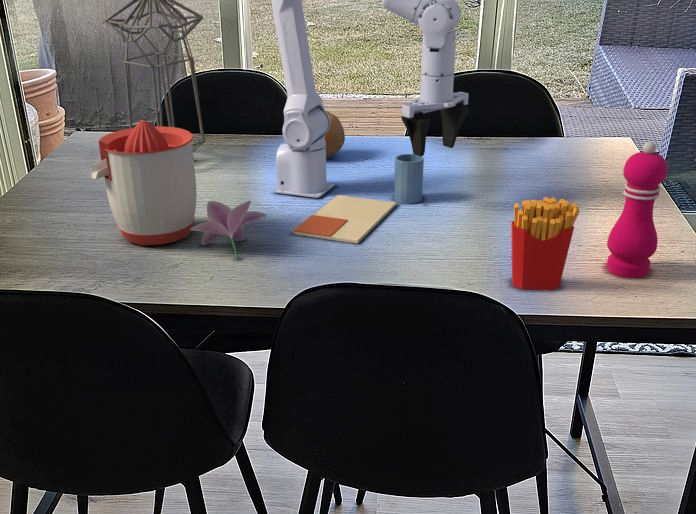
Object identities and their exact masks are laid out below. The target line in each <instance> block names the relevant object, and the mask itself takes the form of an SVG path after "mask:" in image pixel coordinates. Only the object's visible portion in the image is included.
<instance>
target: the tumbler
mask: <svg viewBox="0 0 696 514" xmlns="http://www.w3.org/2000/svg"><path fill="white" fill-rule="evenodd" d="M424 163H425V158H424V156H418V155H415V154H413V153H401V154H398V155H396V156H395V157H394V177H393V179H394V182H393V200H394V202H396V203H399V204H405V205H412V204H413V205H414V204H417V203H420V202H422V200H423V192H424V191H423V187H424Z"/></svg>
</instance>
